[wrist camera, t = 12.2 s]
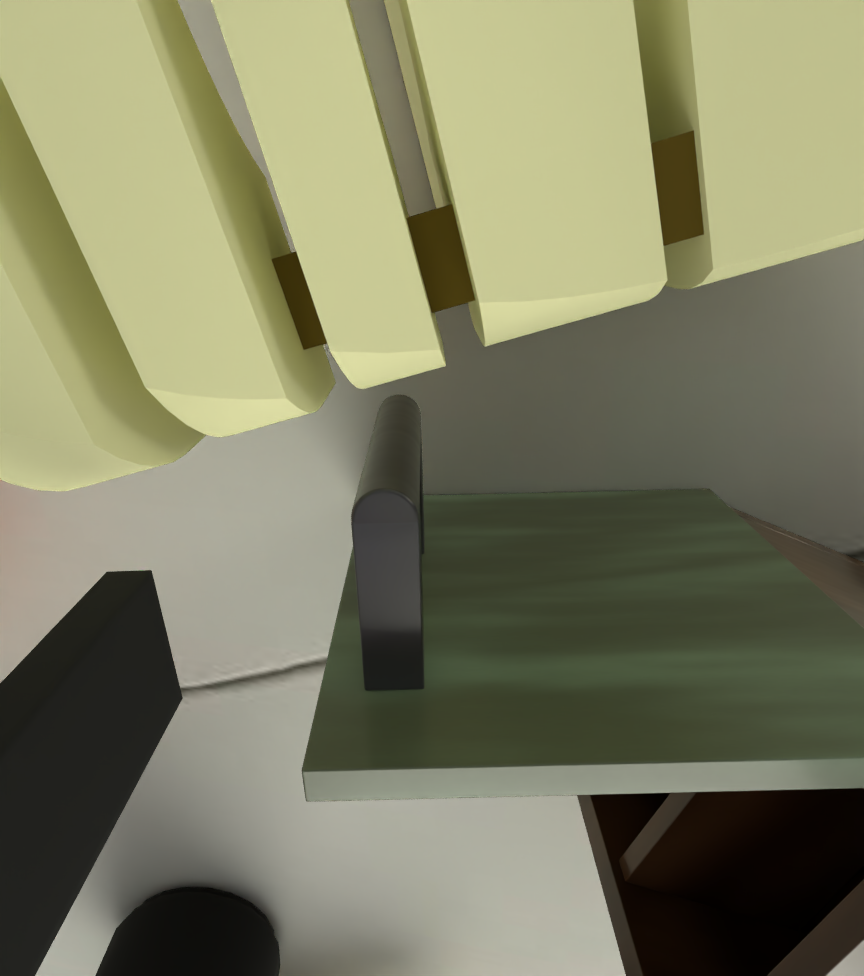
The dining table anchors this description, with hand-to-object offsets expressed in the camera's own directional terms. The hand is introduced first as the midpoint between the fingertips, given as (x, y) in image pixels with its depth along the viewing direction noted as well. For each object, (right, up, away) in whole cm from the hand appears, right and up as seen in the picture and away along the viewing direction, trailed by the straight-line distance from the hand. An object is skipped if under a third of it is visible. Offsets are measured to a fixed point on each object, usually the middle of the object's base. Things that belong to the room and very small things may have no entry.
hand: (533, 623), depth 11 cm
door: (+3, +4, +17) cm, 18 cm away
